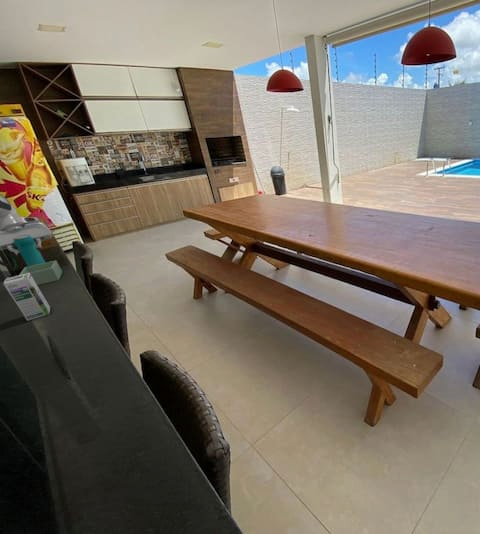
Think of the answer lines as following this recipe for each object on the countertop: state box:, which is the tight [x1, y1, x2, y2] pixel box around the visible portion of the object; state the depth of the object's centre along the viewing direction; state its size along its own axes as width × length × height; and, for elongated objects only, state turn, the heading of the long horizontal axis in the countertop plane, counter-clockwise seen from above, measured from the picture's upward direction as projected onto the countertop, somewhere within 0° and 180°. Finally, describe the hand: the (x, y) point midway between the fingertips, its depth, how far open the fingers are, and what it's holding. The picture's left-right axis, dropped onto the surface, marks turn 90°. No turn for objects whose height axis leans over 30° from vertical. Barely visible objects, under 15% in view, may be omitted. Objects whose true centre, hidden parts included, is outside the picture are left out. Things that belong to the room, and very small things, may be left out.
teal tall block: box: [13, 235, 47, 267], centre depth 135 cm, size 6×6×15 cm
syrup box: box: [3, 273, 51, 322], centre depth 102 cm, size 6×6×14 cm
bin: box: [18, 260, 63, 286], centre depth 130 cm, size 10×10×6 cm
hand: (29, 251), depth 135 cm, fingers closed on teal tall block, 5 cm apart
